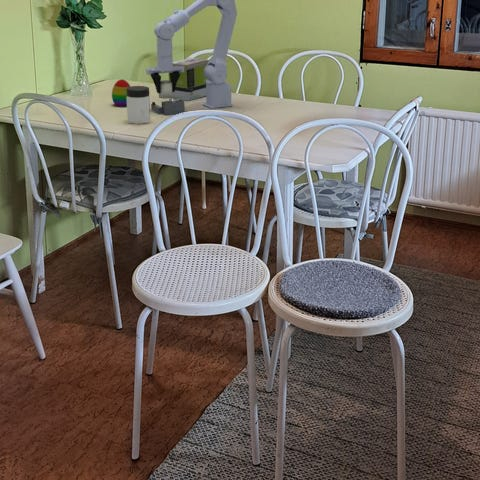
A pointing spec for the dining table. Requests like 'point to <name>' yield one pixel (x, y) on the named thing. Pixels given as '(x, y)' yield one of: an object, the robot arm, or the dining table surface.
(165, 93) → the pump
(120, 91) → the decorative egg
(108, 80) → the dining table surface
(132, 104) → the jar
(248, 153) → the dining table surface
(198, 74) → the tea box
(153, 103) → the motor cradle
